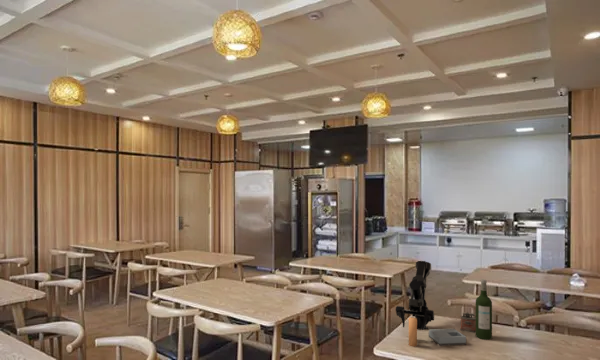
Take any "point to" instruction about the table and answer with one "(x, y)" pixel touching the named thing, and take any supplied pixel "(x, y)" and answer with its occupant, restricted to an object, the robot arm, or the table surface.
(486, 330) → the wine bottle
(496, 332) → the table surface
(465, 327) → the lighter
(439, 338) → the socket block
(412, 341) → the pin
